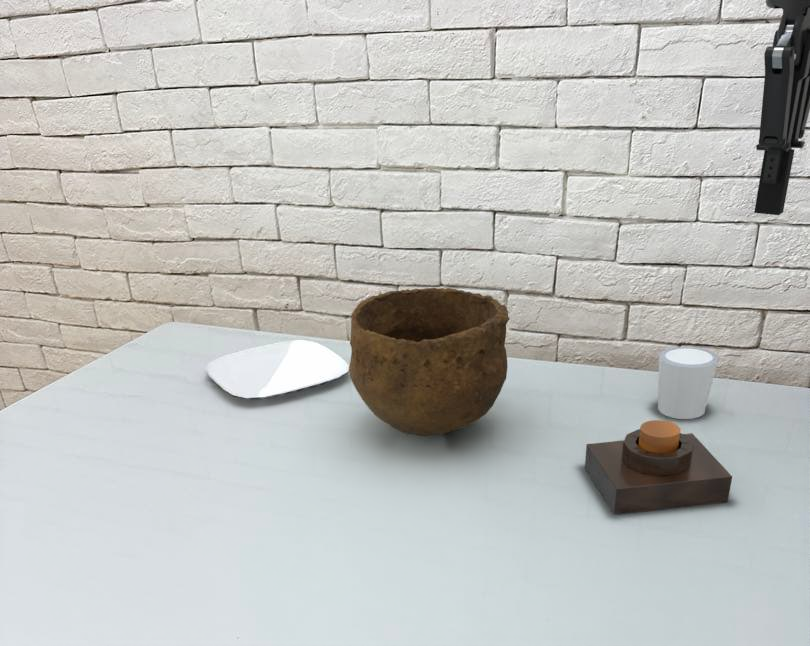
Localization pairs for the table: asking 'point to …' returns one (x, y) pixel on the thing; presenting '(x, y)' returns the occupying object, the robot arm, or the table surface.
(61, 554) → the table surface
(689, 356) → the white cup
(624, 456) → the brown button base
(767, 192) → the robot arm
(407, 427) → the bowl
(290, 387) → the plate
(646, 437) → the orange push button
